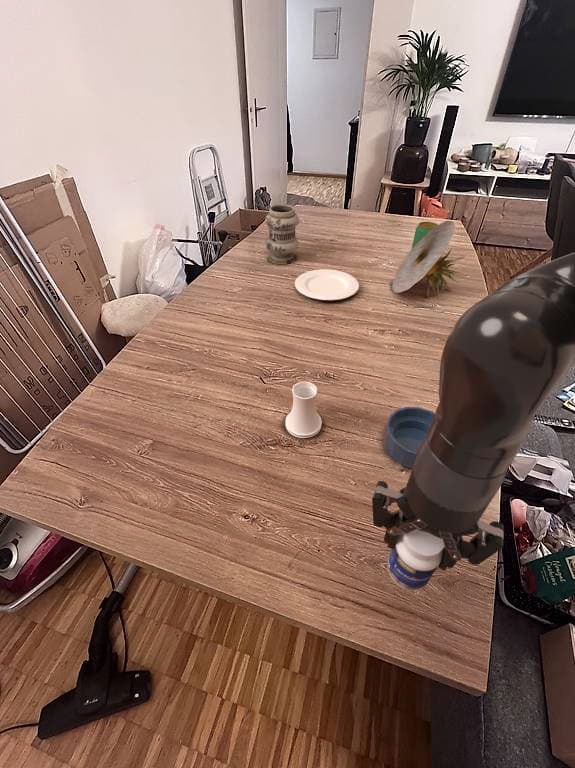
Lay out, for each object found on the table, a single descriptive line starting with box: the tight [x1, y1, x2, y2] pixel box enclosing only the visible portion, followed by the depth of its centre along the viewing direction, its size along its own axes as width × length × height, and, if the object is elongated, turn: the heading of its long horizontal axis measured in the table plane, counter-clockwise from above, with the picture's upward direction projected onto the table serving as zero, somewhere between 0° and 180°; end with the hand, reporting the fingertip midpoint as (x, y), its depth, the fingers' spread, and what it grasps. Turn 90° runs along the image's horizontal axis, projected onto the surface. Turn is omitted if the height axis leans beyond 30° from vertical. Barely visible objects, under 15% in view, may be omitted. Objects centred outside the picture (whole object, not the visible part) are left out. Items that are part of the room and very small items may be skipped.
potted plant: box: [391, 220, 465, 298], centre depth 117 cm, size 25×18×25 cm
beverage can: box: [410, 221, 439, 251], centre depth 136 cm, size 8×8×12 cm
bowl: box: [382, 406, 435, 470], centre depth 73 cm, size 12×12×5 cm
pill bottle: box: [386, 529, 445, 592], centre depth 48 cm, size 6×6×10 cm
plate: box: [294, 268, 360, 302], centre depth 122 cm, size 21×21×2 cm
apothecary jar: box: [264, 203, 300, 265], centre depth 134 cm, size 12×12×18 cm
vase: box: [285, 381, 323, 439], centre depth 75 cm, size 8×8×10 cm
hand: (416, 551), depth 48 cm, fingers closed on pill bottle, 5 cm apart
